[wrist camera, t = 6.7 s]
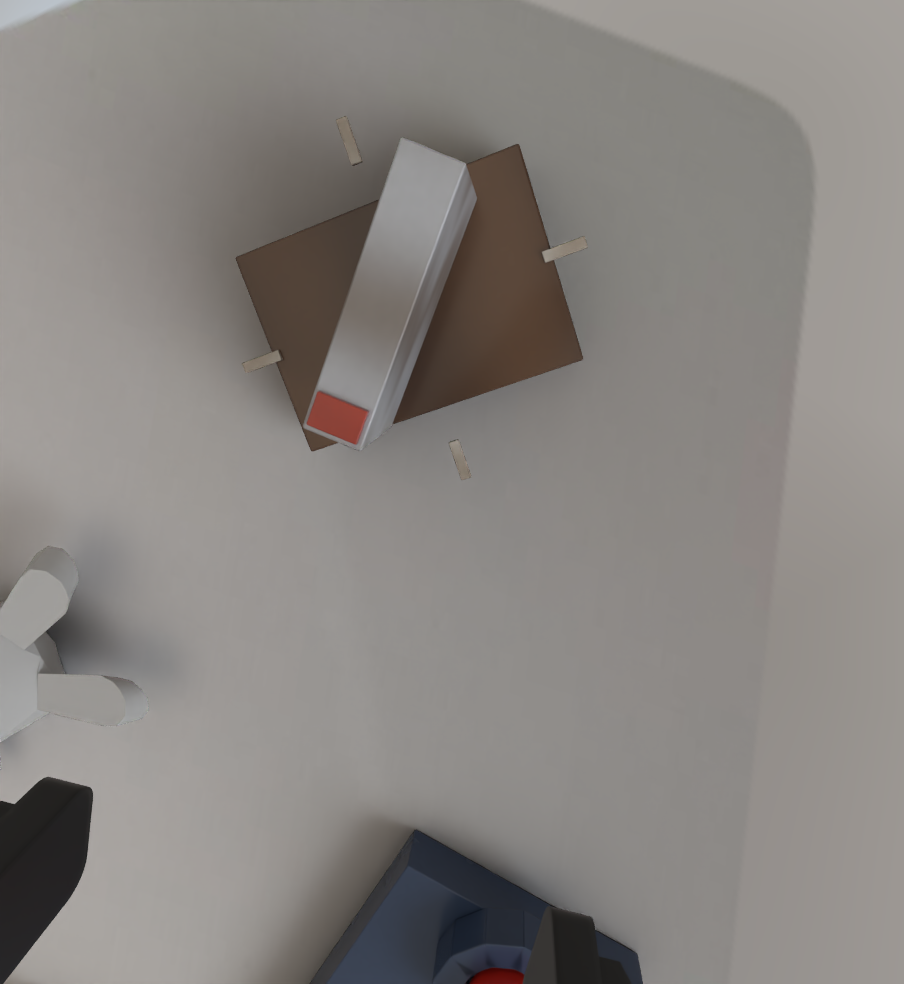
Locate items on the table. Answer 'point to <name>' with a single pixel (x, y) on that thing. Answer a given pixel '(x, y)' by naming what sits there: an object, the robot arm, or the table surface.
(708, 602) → the table surface
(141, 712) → the bunny figurine
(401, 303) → the light grey narrow block
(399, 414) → the tap base
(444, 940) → the button block
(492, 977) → the button
